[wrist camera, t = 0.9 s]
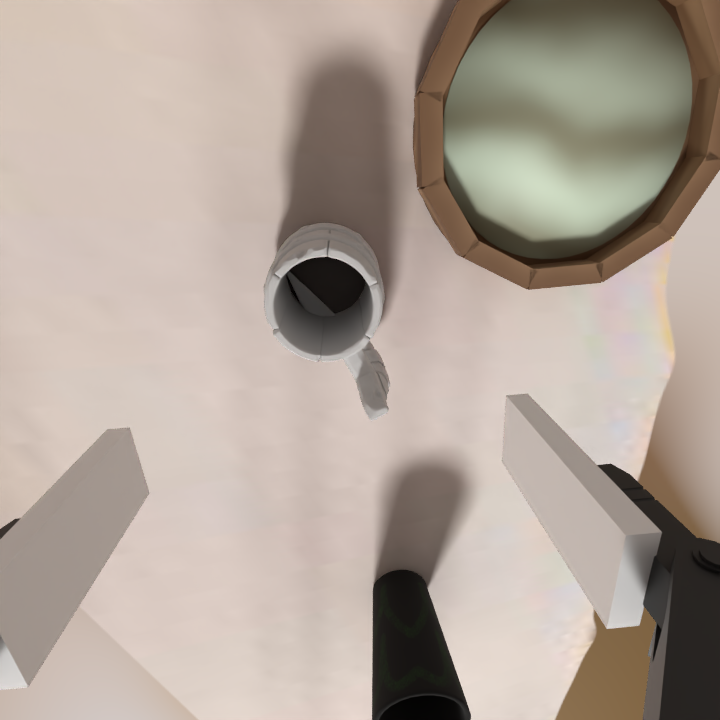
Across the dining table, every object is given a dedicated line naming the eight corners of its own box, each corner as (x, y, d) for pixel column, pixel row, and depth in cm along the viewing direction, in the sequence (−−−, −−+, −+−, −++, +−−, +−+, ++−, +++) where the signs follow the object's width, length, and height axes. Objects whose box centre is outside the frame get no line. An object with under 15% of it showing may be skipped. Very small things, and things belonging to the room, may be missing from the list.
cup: (361, 565, 42) (370, 697, 31) (437, 559, 43) (473, 688, 32) (364, 619, 45) (374, 759, 34) (435, 613, 46) (468, 750, 34)
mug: (347, 200, 30) (354, 204, 19) (417, 340, 34) (457, 411, 23) (254, 253, 31) (210, 286, 20) (334, 382, 35) (333, 470, 24)
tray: (406, -41, 25) (414, -68, 23) (734, -67, 26) (779, -96, 23) (418, 291, 33) (425, 299, 30) (673, 266, 33) (702, 272, 30)
